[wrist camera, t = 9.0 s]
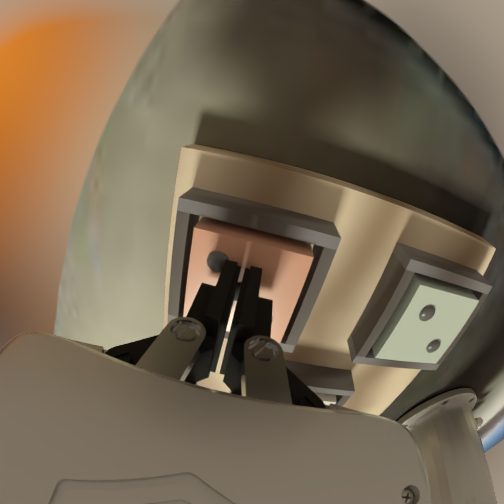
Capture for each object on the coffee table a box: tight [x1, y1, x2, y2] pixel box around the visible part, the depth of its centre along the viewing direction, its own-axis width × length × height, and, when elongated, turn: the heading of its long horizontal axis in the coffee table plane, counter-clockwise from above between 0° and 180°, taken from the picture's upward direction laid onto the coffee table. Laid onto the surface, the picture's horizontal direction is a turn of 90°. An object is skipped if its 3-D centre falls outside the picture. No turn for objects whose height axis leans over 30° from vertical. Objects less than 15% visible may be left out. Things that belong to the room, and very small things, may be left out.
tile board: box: [164, 144, 496, 416], centre depth 17 cm, size 20×20×4 cm
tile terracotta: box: [183, 217, 314, 343], centre depth 14 cm, size 5×5×2 cm
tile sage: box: [372, 272, 479, 364], centre depth 14 cm, size 5×5×2 cm
